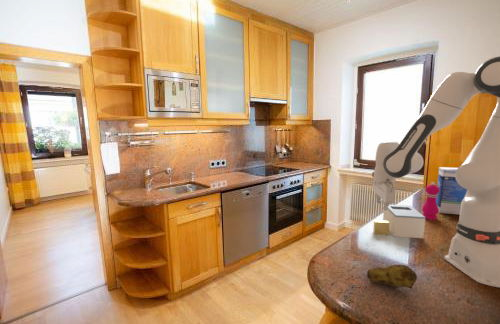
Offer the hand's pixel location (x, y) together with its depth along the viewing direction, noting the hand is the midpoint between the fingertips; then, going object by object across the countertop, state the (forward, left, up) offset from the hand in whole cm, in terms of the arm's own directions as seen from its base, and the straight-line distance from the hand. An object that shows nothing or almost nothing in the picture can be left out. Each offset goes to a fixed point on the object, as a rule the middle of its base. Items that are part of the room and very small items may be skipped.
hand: (381, 205), depth 115 cm
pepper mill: (+26, -32, -14) cm, 43 cm away
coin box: (+6, -11, -13) cm, 18 cm away
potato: (-41, +9, -14) cm, 44 cm away
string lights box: (+38, -48, -14) cm, 63 cm away
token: (0, 0, -13) cm, 13 cm away
